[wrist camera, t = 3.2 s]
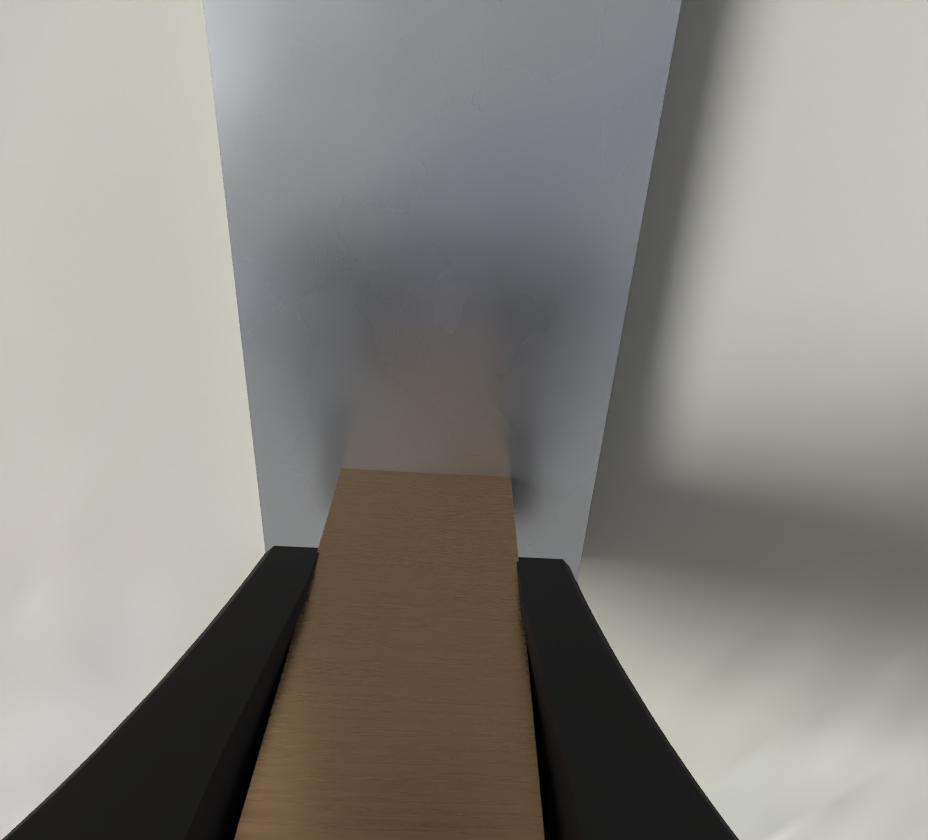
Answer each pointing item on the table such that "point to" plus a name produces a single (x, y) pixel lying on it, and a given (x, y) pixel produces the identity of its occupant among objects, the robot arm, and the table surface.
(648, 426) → the table surface
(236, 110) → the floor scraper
